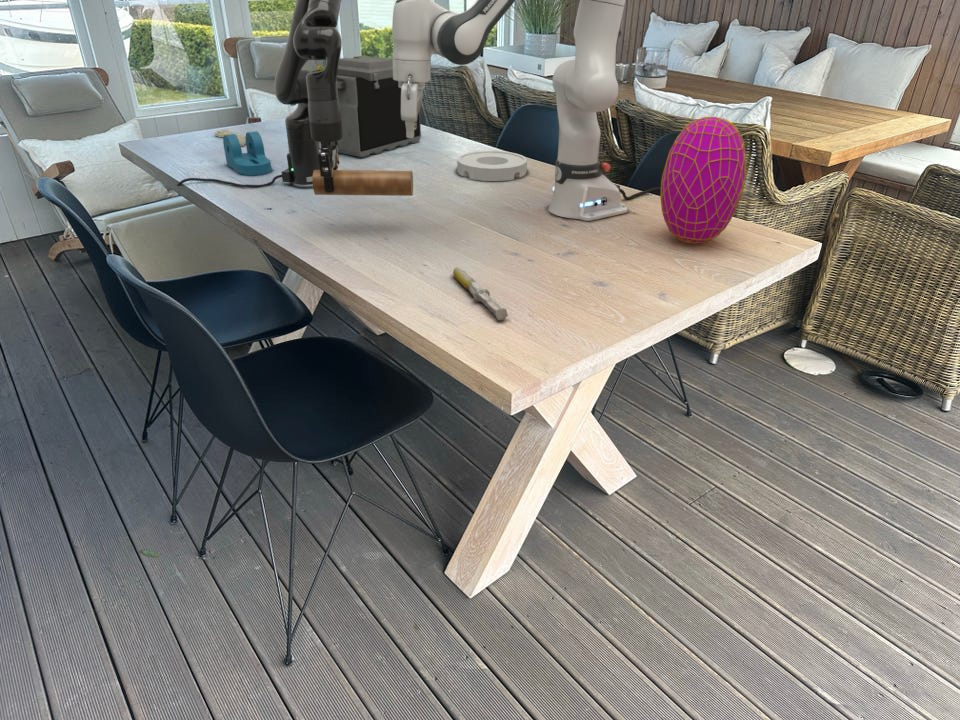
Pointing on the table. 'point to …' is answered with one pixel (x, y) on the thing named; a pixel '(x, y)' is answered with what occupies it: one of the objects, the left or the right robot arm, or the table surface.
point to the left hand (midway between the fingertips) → (332, 187)
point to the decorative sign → (226, 132)
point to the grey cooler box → (370, 107)
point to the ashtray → (492, 165)
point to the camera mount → (246, 154)
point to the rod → (366, 183)
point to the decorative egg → (703, 179)
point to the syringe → (479, 293)
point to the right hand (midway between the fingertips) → (411, 133)
